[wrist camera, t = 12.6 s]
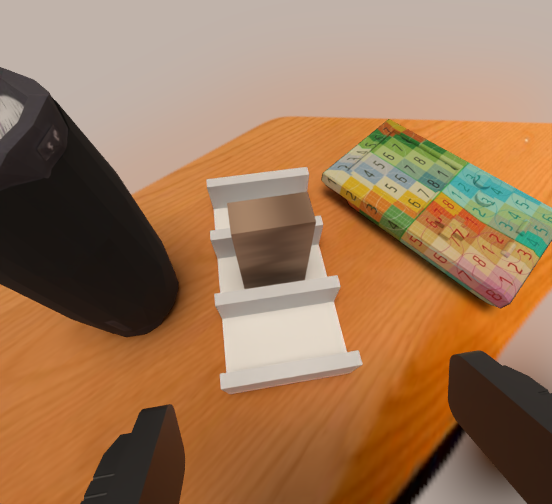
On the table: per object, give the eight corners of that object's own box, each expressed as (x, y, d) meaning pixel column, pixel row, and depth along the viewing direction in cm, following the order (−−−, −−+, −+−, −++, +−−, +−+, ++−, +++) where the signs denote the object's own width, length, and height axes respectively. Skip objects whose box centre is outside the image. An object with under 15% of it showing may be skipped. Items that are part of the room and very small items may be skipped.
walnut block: (245, 292, 28) (230, 234, 19) (242, 268, 29) (226, 203, 21) (304, 282, 29) (316, 221, 20) (298, 259, 30) (307, 191, 21)
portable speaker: (107, 252, 31) (-97, 48, 14) (198, 260, 31) (98, 59, 14) (72, 337, 27) (-276, 192, 10) (175, 348, 27) (-6, 216, 10)
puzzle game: (518, 299, 24) (323, 166, 31) (483, 317, 28) (318, 196, 35) (574, 212, 28) (391, 111, 35) (536, 239, 32) (379, 144, 39)
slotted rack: (229, 394, 25) (220, 389, 21) (214, 207, 34) (206, 179, 30) (349, 373, 26) (362, 364, 22) (303, 195, 35) (307, 167, 31)
